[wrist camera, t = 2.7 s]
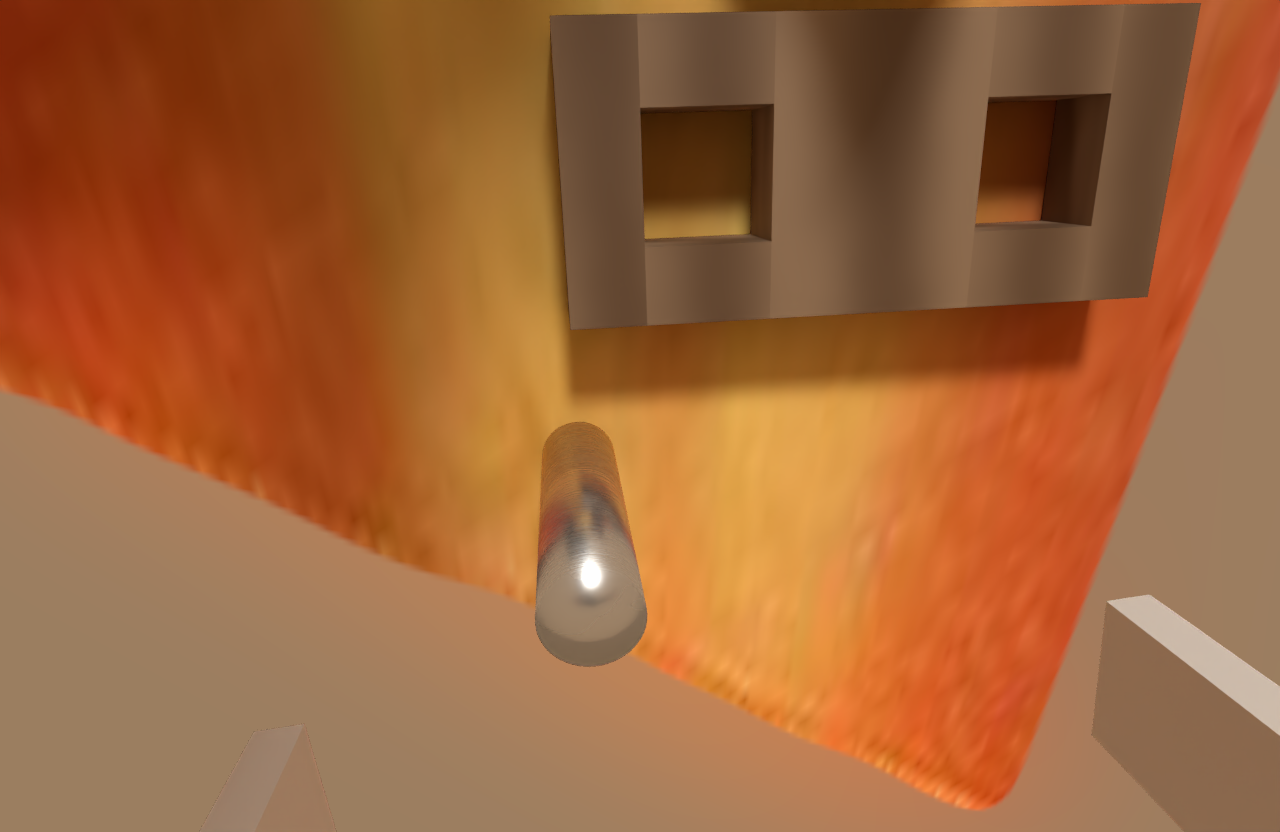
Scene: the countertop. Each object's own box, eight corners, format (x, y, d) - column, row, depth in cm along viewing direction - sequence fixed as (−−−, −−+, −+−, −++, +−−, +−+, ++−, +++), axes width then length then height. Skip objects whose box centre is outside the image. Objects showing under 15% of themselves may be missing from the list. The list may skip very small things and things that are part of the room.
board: (569, 314, 29) (570, 329, 27) (550, 31, 26) (549, 15, 23) (1094, 285, 31) (1147, 296, 29) (1136, 19, 28) (1200, 2, 25)
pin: (545, 491, 32) (539, 671, 20) (539, 424, 31) (530, 575, 19) (615, 485, 32) (648, 661, 21) (612, 419, 31) (645, 564, 20)
